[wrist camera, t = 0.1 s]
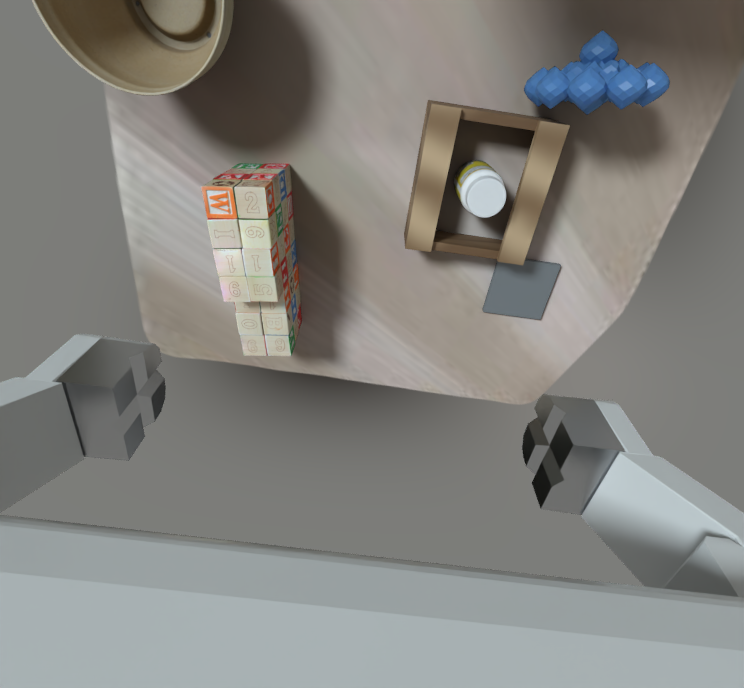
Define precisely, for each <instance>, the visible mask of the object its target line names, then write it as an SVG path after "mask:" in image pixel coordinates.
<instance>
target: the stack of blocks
mask: <svg viewBox="0 0 744 688" xmlns="http://www.w3.org/2000/svg"><path fill="white" fill-rule="evenodd" d="M201 189H202V194H203V199H204V204H205V209H206V215H207V218H208V219H207V224H208V229H209V234H210V238H211V243H212V247H213V248H214V249H213V255H214V259H215V264H216V269H217V273H218V275H219V281H220V286H221V290H222V295H223V300H224V302H234V304H235V310H236V320H237V325H238V331H239V334H240V337H241V343H242V349H243V354H244V355H251V356H267V355H269V356H291V355H292V352H293V349H294V346H295V341H296V338H297V335H298V331H299V328H300V325H301V322H302V318H301V307H300V302H301V301H300V288H299V275H298V263H297V257H296V245H295V234H294V222H293V202H292V187H291V173H290V165H289V164H237V165H236V166H234V167H232V168H231V169H230V170H228V171H226V172H224V173H223V174H220V175H218V176H217V177H215V178H214V179H213V180H212V181H210V182H208V183H207V184H205V185H203V186H202V187H201Z"/></svg>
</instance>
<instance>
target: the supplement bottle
mask: <svg viewBox="0 0 744 688" xmlns="http://www.w3.org/2000/svg"><path fill="white" fill-rule="evenodd" d="M454 188H455V191H456V194H457V195H458V197H459V199H460V201H461V203H462V205H463V206H464V208H465V209H466V210H467V211H468V212H470V213H472V214H474V215H476V216H478V217H482V218H486V217H491V216H493V215H495V214H497V213H498V212H499V211H500V210H501V209H502V208H503V206H504V204H505V201H506V190H505V186H504V182H503V180H502V178H501V177H500V175H499V174H498V173H497V172H496V171H495V170H494V169H493V168H492V167H491V166H489V165H488V164H487V163H485V162H483V161H480V160H473V161H469V162H467V163H465V164H464V165H462V166H461V167H460V168H459V170H458V171H457V173H456V175H455V179H454Z"/></svg>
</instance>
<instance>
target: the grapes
mask: <svg viewBox="0 0 744 688" xmlns="http://www.w3.org/2000/svg"><path fill="white" fill-rule="evenodd" d="M618 50H619V49H618V46H617V44H616V42H615V41H614V39H613V38H611V37H610V36H609V35H608V34H607V33H606V32H604V31H603V30H602V31H601V32H600V33H598V34H597V35H595V36H594V37H593V38H592V39H591V40H589V41H588V42H587V43H586V44H585V45H584V46H583V47H582V49H581V52H580V55H579V57H580V59H581V61H580V62H579V61H576V62H574V63H573V62H570V63H569V64H568V65H567V66H566V67H565V68H563V69H562V70H561V71H560V70H559V69H558V68H557V67H555V66H554V67H553V68H551V69H550V70H549V71H548V70H546V69H545V68H544V67H543V68H542V69H540V70H539V71H538V72H536V73H535V74H534V75H533V76H532V77H531V78H530V79H529V80H528V81H527V82H526V85H525V88H524V91H525V93H526V95H527V97H528V98H529V99H530V100H531V101H532V102H533V103H535V104H536V105H537V106H538V107H539V106H540V105H542V104H545V105H546V106H547V107H548V108H549V109H551V108H553V107H554V106H556V105H557V104H559V103H560V102H561V101H565V102H566V101H570V102H571V103H572V102H573V103H575V104H576V106H577V107H578V108H580V109H581V110H582V111H583V112H584V113H585V114H587V115H588V114H589V113H591V112H592V111H594V110H596V109H597V108H599V107H600V106H601V105H602V104H603V103H605V102H606V101H609V102H612V103H614V104H615V105H616V106H617V107H618V108H620V109H623V108H625V107H626V106H628V105H630V104H631V103H633V102H635V103H636V104H640V105H641V106H642V107H644V106H645V105H647V104H649V103H651V102H652V101H654V100H656V99H657V98H659V97H660V96H661V95H662V94H663V93H665V91H666V90H667V89H668V88H669V84H670V81H669V77H668V76H667V75H666V73H665V72H664V71H663V70H662V69H661V68H660V67H658V66H657V65H656V64H654V63H652V64H651V65H650V64H649V63H645V64H644V65H642V66H640V67H639V68H635V67H634V66H632V65H629V64H628V63H627V62H626V61H625V60H624V59H620V60H619V61H616V60H615V57H616V56H617V53H618Z"/></svg>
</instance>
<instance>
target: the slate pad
mask: <svg viewBox="0 0 744 688" xmlns="http://www.w3.org/2000/svg"><path fill="white" fill-rule="evenodd" d="M560 267H561V265H560V264H557V263H550V262H543V261H536V260H529V259H525V261H524V264H523V265H517V264H510V263H503V262H498V261H497V263H496V267H495V270H494V273H493V276H492V280H491V283H490V286H489V290H488V293H487V296H486V300H485V303H484V306H483V312H488V313H496V314H503V315H510V316H517V317H525V318H532V319H539V320H540V319H541V316H542V314H543V311H544V308H545V306H546V303H547V301H548V298H549V295H550V293H551V290H552V288H553V285H554V282H555V280H556V277H557V275H558V272H559V269H560Z"/></svg>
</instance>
